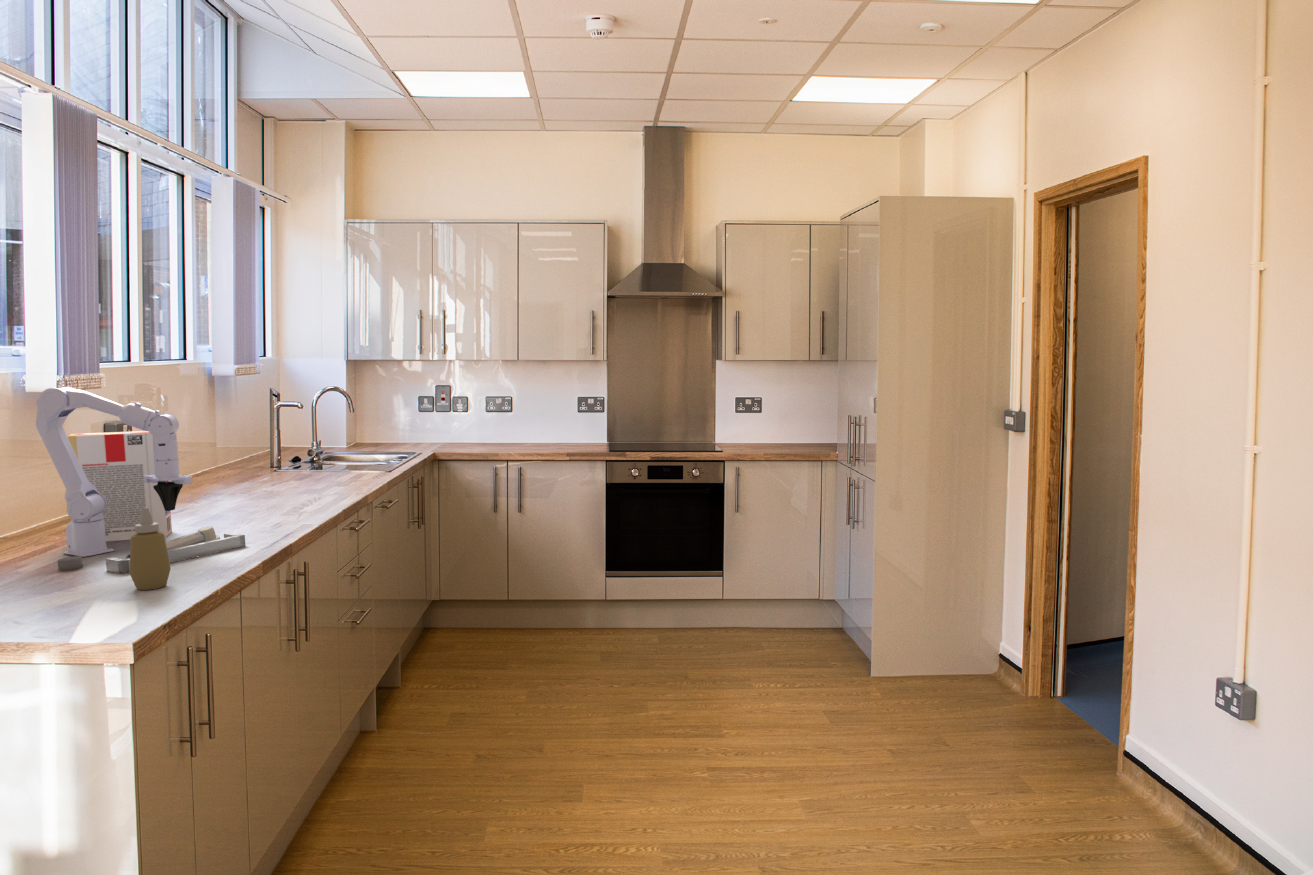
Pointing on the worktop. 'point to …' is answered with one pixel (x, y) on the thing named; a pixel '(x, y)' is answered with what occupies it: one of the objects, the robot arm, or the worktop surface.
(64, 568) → the smooth gray pebble
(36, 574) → the worktop surface
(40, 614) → the worktop surface
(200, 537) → the white handheld wand
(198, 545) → the curved pull handle
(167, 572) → the squeeze bottle
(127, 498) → the pasta box
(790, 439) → the worktop surface
